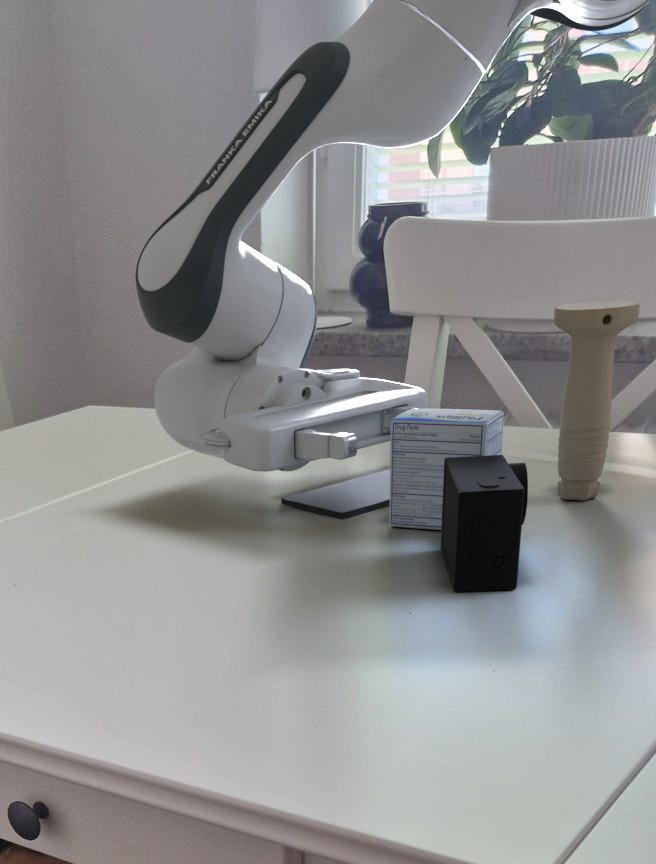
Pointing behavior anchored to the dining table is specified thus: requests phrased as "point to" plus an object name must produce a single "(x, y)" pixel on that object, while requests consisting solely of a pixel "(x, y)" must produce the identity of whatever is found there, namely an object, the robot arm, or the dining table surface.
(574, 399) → the handle
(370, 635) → the dining table surface
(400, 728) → the dining table surface
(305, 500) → the smartphone
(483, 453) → the medicine box
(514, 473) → the digital camera
